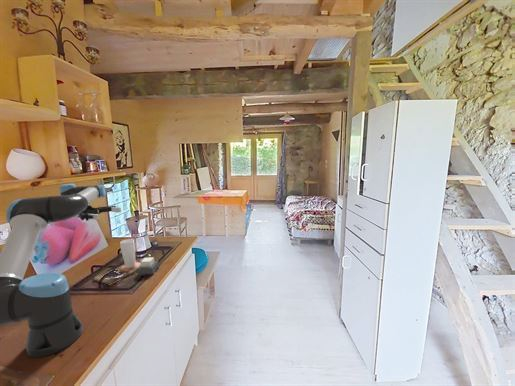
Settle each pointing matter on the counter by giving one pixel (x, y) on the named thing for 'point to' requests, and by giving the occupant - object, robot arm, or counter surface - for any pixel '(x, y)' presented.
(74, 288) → the counter surface
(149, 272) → the button housing
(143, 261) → the button
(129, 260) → the drinking glass
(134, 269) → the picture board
